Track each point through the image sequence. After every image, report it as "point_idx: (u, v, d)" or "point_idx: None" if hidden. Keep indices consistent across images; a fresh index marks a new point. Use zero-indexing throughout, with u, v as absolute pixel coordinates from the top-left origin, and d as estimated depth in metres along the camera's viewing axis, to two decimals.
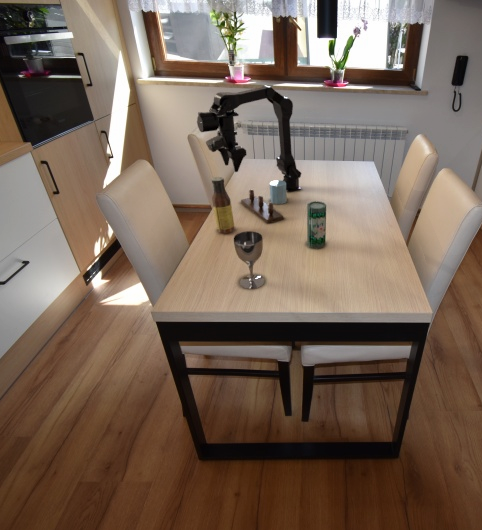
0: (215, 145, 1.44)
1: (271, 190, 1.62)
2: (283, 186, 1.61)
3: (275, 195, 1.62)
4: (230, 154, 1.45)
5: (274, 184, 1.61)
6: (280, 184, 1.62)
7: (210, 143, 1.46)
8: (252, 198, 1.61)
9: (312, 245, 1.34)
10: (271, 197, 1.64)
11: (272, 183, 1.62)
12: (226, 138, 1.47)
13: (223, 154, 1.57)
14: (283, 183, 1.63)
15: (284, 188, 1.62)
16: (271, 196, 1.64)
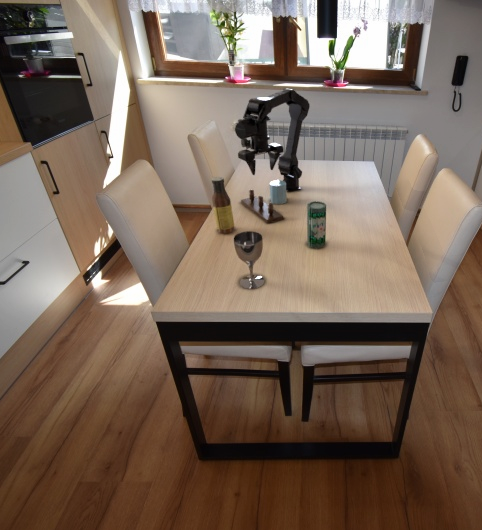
0: (241, 142, 1.55)
1: (271, 190, 1.62)
2: (283, 186, 1.61)
3: (275, 195, 1.62)
4: None
5: (274, 184, 1.61)
6: (280, 184, 1.62)
7: None
8: (252, 198, 1.61)
9: (312, 245, 1.34)
10: (271, 197, 1.64)
11: (272, 183, 1.62)
12: (253, 141, 1.52)
13: (270, 159, 1.60)
14: (283, 183, 1.63)
15: (284, 188, 1.62)
16: (271, 196, 1.64)
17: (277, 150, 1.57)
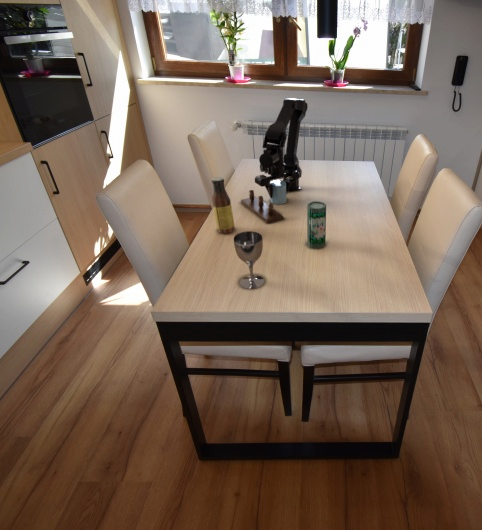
0: (260, 167, 1.62)
1: None
2: (283, 186, 1.61)
3: (275, 195, 1.62)
4: None
5: (274, 184, 1.61)
6: (280, 184, 1.62)
7: None
8: (252, 198, 1.61)
9: (312, 245, 1.34)
10: None
11: (272, 183, 1.62)
12: (270, 167, 1.59)
13: None
14: (283, 183, 1.63)
15: (284, 188, 1.62)
16: None
17: (293, 176, 1.62)
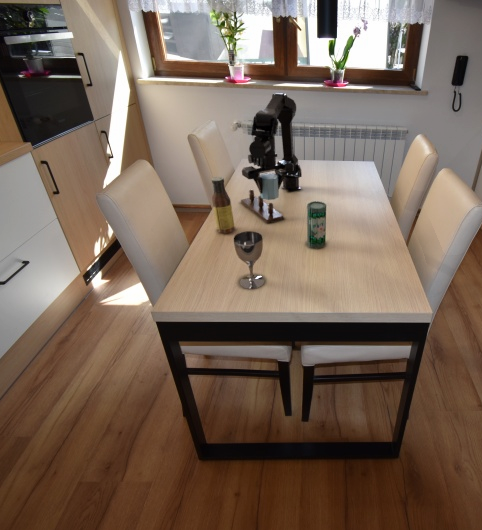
0: (248, 158, 1.43)
1: None
2: (275, 180, 1.42)
3: (266, 189, 1.43)
4: None
5: (264, 177, 1.42)
6: (271, 177, 1.43)
7: None
8: (252, 198, 1.61)
9: (312, 245, 1.34)
10: None
11: (262, 176, 1.43)
12: None
13: None
14: (274, 176, 1.44)
15: (276, 182, 1.43)
16: None
17: (286, 168, 1.43)
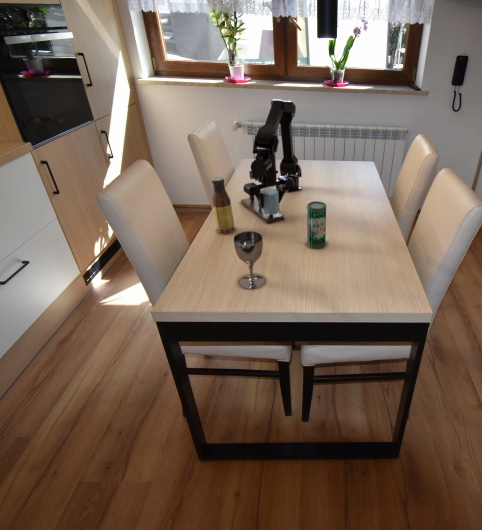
0: (249, 174, 1.46)
1: None
2: (275, 195, 1.45)
3: (267, 204, 1.46)
4: None
5: (265, 193, 1.46)
6: (272, 193, 1.46)
7: None
8: (252, 198, 1.61)
9: (312, 245, 1.34)
10: None
11: (263, 191, 1.46)
12: None
13: None
14: (275, 191, 1.47)
15: (276, 197, 1.46)
16: None
17: (286, 184, 1.47)
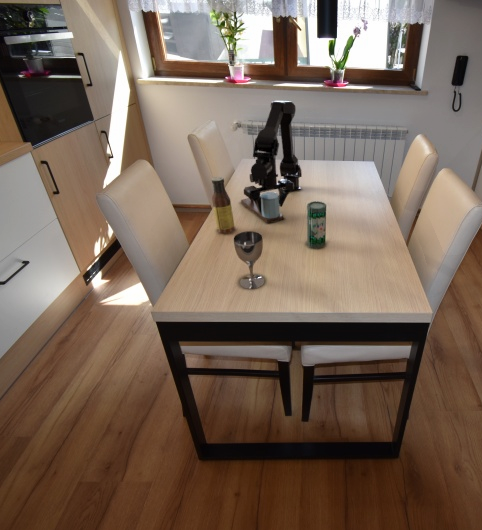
0: (250, 177, 1.47)
1: (262, 203, 1.47)
2: (276, 199, 1.46)
3: (267, 208, 1.47)
4: None
5: (265, 197, 1.46)
6: (272, 197, 1.47)
7: None
8: None
9: (312, 245, 1.34)
10: (262, 211, 1.49)
11: (263, 195, 1.47)
12: None
13: (279, 195, 1.51)
14: (275, 195, 1.48)
15: (277, 201, 1.47)
16: (262, 210, 1.49)
17: (286, 187, 1.47)
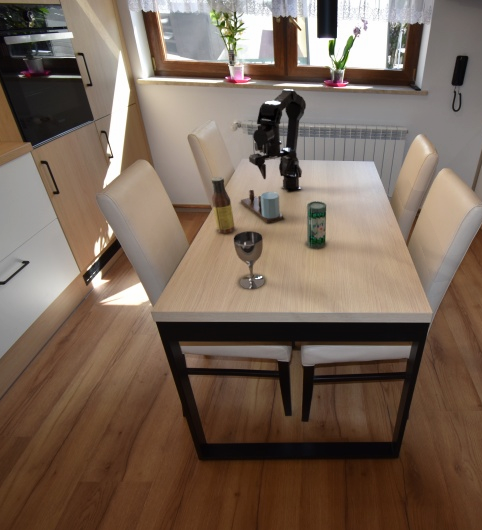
0: (254, 146, 1.55)
1: (262, 203, 1.47)
2: (276, 199, 1.46)
3: (267, 208, 1.47)
4: None
5: (265, 197, 1.46)
6: (272, 197, 1.47)
7: None
8: (252, 198, 1.61)
9: (312, 245, 1.34)
10: (262, 211, 1.49)
11: (263, 195, 1.47)
12: None
13: (283, 163, 1.59)
14: (275, 195, 1.48)
15: (277, 201, 1.47)
16: (262, 210, 1.49)
17: (289, 155, 1.55)
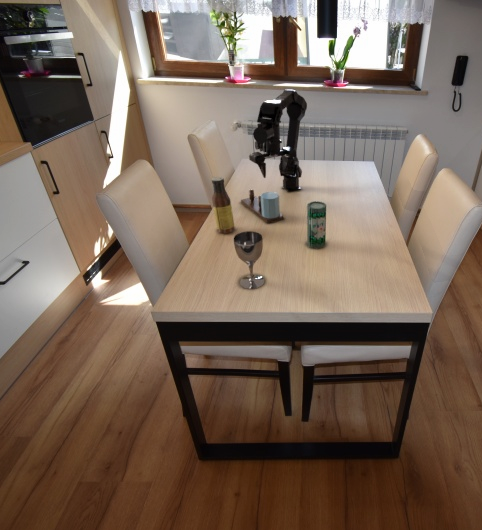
0: (255, 145, 1.55)
1: (262, 203, 1.47)
2: (276, 199, 1.46)
3: (267, 208, 1.47)
4: None
5: (265, 197, 1.46)
6: (272, 197, 1.47)
7: None
8: (252, 198, 1.61)
9: (312, 245, 1.34)
10: (262, 211, 1.49)
11: (263, 195, 1.47)
12: (265, 144, 1.52)
13: (283, 162, 1.60)
14: (275, 195, 1.48)
15: (277, 201, 1.47)
16: (262, 210, 1.49)
17: (289, 154, 1.55)
